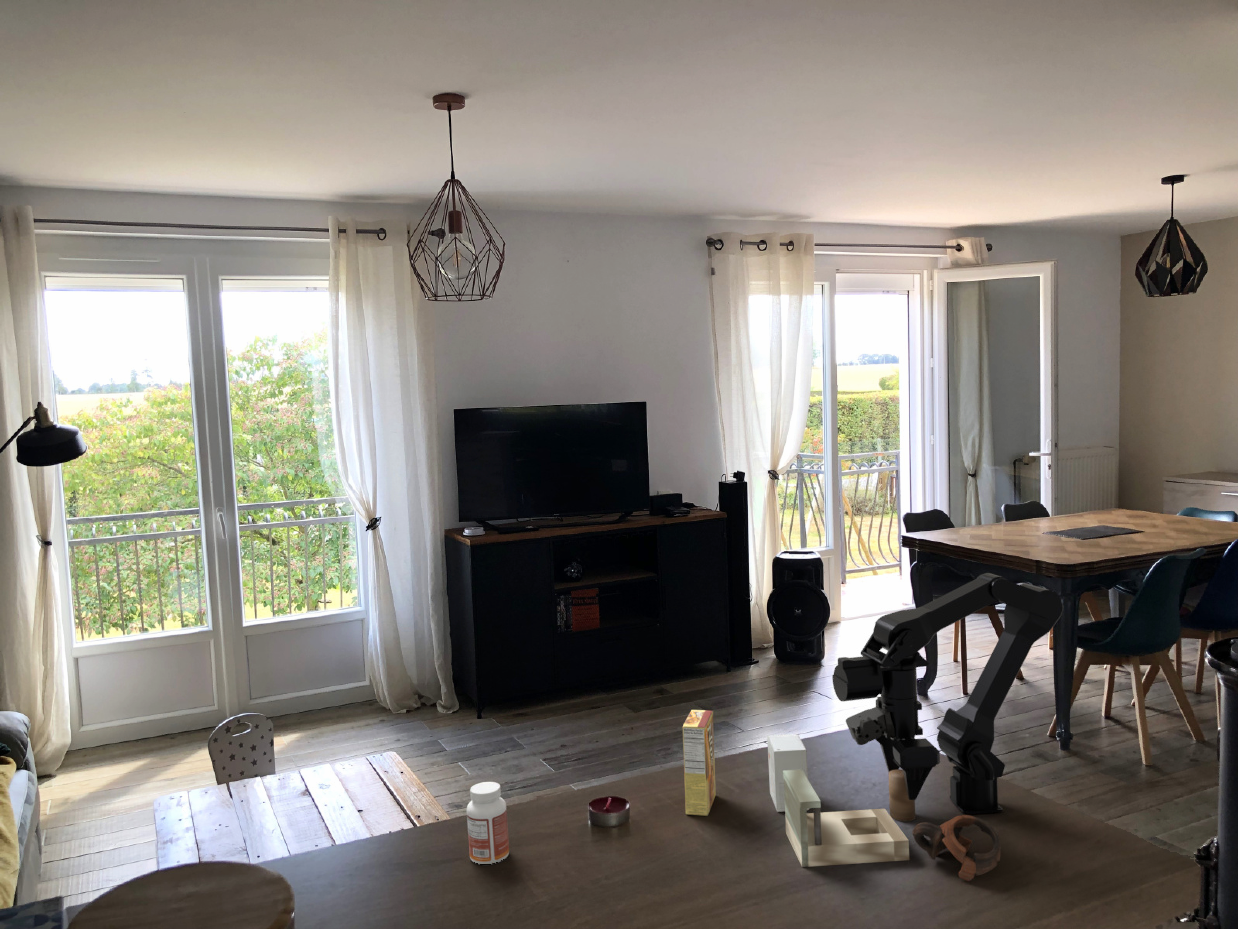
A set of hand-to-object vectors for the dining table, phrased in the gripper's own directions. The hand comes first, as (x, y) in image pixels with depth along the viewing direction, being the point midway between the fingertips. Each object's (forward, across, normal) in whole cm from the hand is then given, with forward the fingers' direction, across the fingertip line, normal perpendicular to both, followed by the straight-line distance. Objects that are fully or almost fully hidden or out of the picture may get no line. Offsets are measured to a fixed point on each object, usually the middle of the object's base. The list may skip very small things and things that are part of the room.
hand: (902, 788), depth 151 cm
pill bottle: (+5, +5, -67) cm, 67 cm away
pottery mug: (+5, +17, +2) cm, 18 cm away
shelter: (+5, +9, -12) cm, 16 cm away
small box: (+5, -8, -17) cm, 20 cm away
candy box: (+5, -9, -32) cm, 34 cm away
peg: (+5, 0, 0) cm, 5 cm away
